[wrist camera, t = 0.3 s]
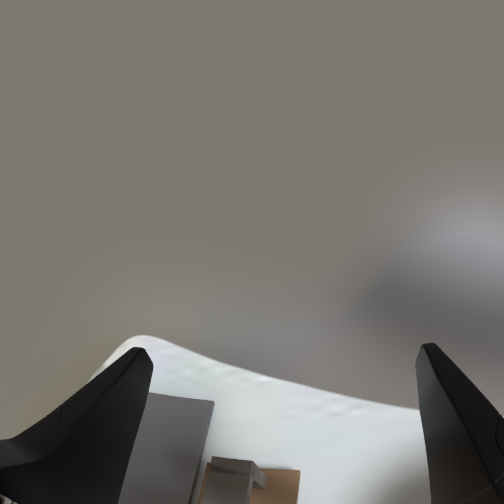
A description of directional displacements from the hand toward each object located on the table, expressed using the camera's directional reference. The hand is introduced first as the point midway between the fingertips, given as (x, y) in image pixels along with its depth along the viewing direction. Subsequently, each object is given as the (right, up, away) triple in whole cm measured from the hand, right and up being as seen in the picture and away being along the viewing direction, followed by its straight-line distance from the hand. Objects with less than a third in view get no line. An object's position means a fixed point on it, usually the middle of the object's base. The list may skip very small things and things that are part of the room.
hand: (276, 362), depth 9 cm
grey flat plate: (-10, -15, +11) cm, 21 cm away
